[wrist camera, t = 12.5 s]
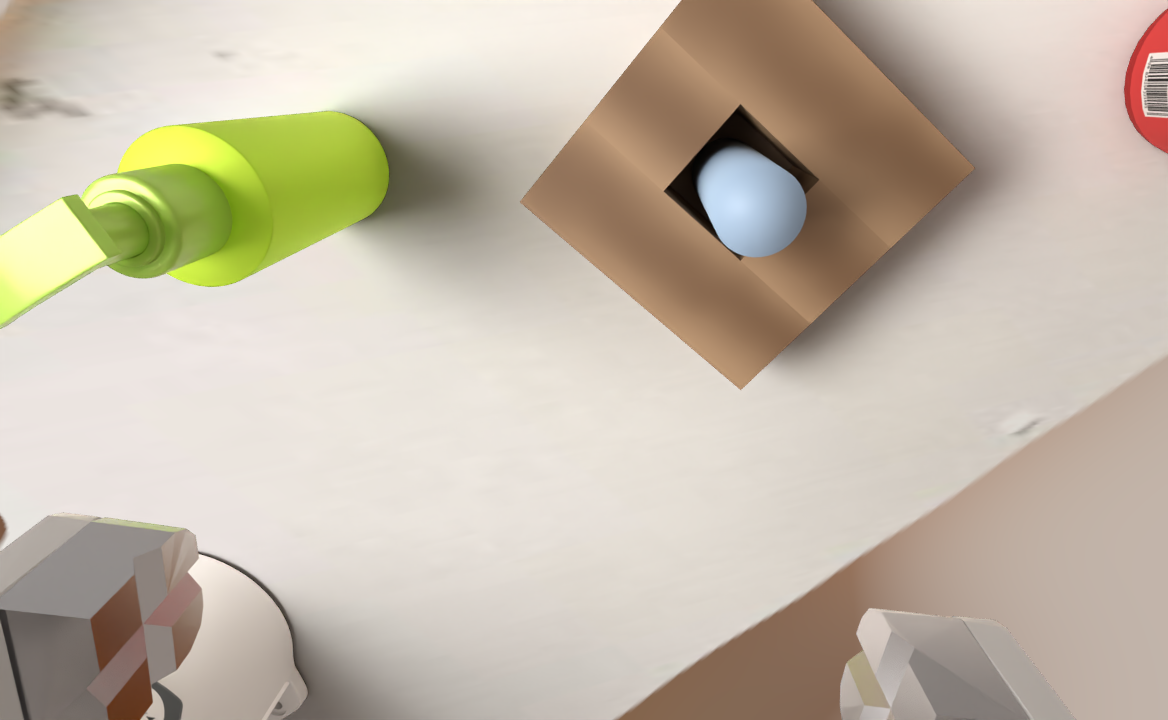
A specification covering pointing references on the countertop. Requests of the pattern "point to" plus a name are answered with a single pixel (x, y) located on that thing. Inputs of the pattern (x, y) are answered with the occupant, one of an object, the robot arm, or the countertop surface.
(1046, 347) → the countertop surface
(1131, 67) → the canned food
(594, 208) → the socket block
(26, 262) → the soap dispenser
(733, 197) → the dowel
